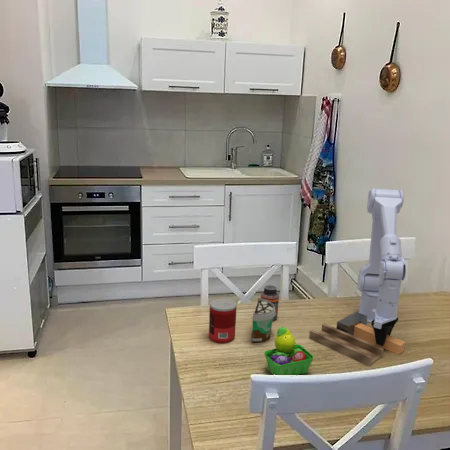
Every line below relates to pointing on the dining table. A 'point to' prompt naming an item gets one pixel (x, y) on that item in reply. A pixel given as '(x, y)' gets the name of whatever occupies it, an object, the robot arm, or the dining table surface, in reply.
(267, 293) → the supplement bottle
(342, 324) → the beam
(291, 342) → the fruit basket
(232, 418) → the dining table surface
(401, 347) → the shaft
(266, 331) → the food container
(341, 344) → the tray
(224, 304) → the canned food
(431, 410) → the dining table surface
